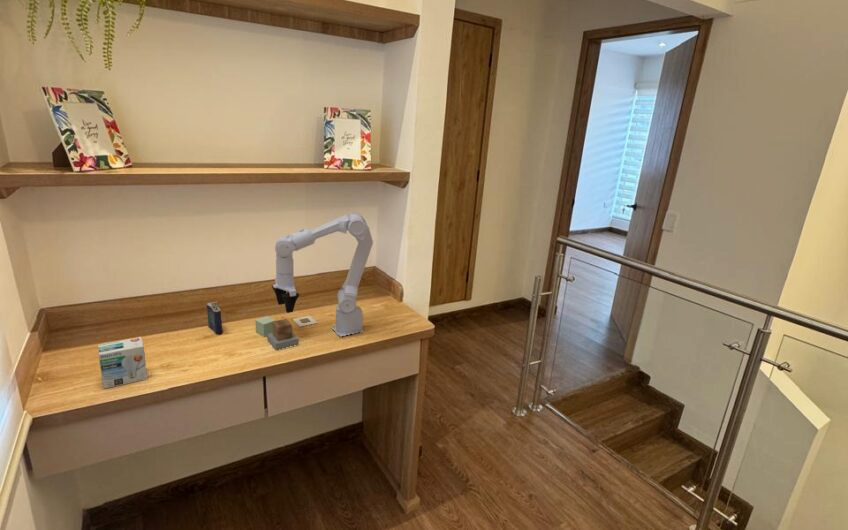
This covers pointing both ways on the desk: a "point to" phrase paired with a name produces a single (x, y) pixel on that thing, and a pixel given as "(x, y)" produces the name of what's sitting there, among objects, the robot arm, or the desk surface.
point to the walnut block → (282, 329)
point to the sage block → (264, 326)
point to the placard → (304, 321)
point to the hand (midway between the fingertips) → (285, 308)
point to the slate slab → (282, 341)
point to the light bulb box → (122, 362)
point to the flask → (214, 318)
